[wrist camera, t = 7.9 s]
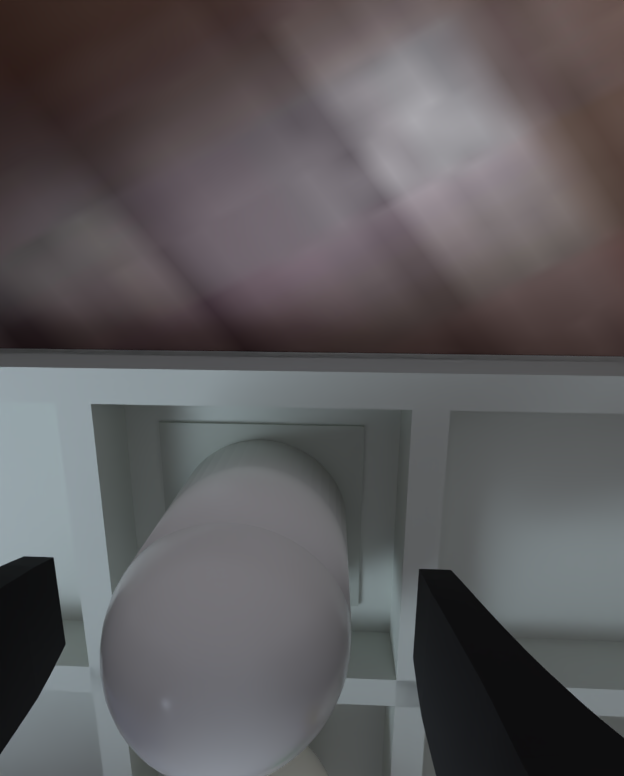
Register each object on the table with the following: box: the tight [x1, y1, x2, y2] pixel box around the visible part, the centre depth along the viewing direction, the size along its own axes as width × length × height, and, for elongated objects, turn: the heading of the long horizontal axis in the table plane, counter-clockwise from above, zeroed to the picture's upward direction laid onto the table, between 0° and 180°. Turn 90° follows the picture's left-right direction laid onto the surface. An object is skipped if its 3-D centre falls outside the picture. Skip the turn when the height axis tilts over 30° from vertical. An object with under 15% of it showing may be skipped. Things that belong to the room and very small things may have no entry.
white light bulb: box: [100, 440, 352, 776], centre depth 10 cm, size 4×4×6 cm
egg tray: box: [0, 348, 624, 776], centre depth 13 cm, size 16×24×2 cm
